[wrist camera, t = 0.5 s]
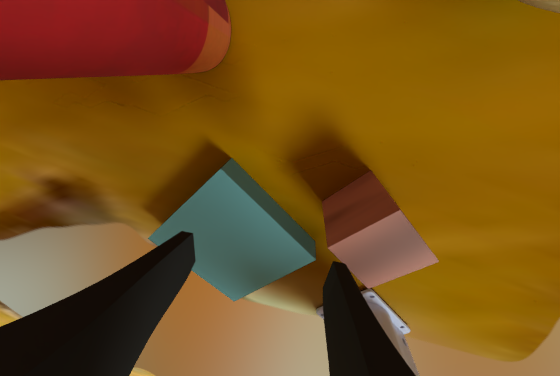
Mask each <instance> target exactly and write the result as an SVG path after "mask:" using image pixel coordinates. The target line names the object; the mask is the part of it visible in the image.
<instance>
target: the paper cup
mask: <svg viewBox="0 0 560 376" xmlns="http://www.w3.org/2000/svg"><path fill="white" fill-rule="evenodd" d="M230 39H231V20H230V15H229V11H228V7H227V5H226V2H225V0H0V80H16V79H46V78H76V77H106V76H136V75H163V74H185V73H198V72H204V71H208V70H210V69H212V68H214V67H215V66H217V65H218V64H219V63H220V62H221V61H222V59H223V58H224V56H225V55H226V53H227V50H228V47H229V44H230Z"/></svg>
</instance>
